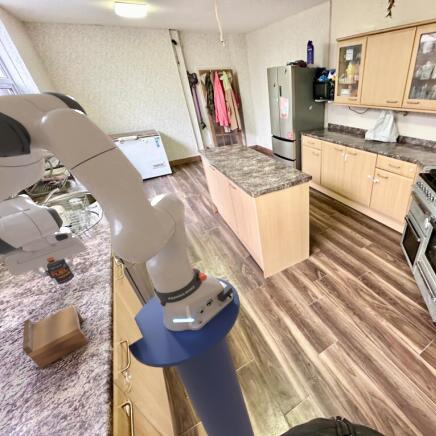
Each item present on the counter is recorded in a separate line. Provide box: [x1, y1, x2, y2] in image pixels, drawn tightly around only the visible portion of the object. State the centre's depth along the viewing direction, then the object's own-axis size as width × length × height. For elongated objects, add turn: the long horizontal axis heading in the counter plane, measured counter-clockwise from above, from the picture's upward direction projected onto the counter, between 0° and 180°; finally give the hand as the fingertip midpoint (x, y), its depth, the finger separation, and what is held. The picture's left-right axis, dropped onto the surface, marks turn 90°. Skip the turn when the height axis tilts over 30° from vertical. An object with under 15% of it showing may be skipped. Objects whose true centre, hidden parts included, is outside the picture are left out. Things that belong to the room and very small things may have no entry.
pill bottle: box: [42, 257, 75, 286], centre depth 87 cm, size 6×6×11 cm
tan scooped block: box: [22, 304, 89, 369], centre depth 65 cm, size 10×12×8 cm
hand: (59, 271), depth 87 cm, fingers closed on pill bottle, 6 cm apart
